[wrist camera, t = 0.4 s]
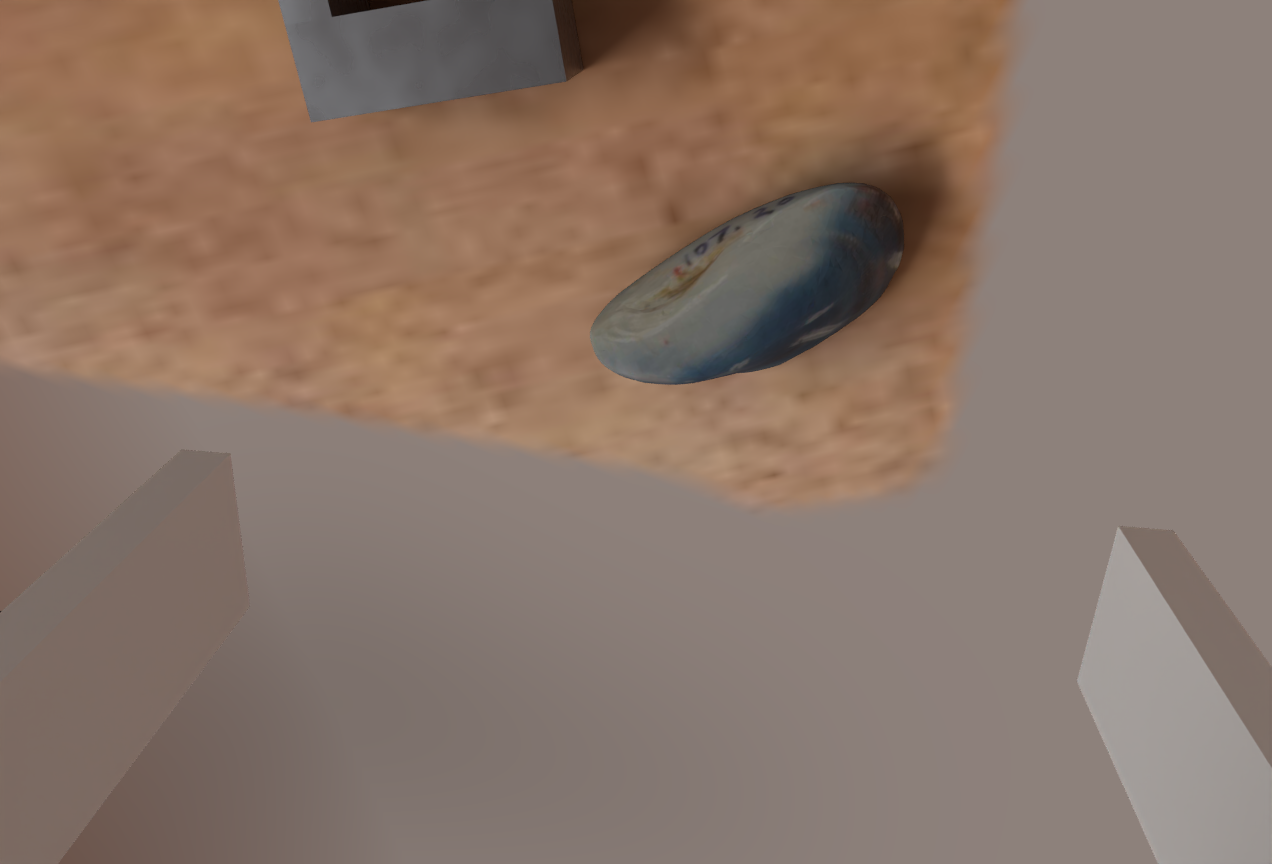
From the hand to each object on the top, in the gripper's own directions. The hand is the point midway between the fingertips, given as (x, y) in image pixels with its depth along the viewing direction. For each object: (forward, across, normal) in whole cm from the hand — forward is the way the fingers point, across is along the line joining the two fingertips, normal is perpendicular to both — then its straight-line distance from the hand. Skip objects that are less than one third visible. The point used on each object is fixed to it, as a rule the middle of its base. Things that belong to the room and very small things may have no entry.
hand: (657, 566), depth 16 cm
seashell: (+27, +2, -3) cm, 27 cm away
